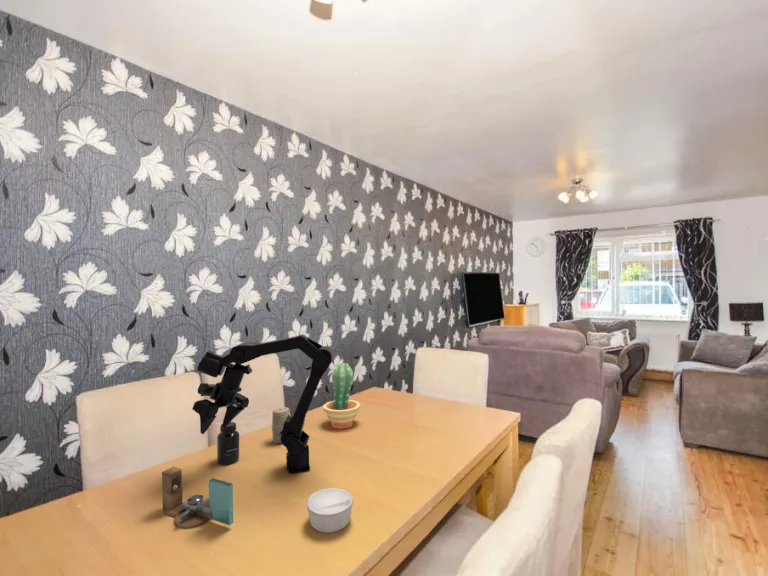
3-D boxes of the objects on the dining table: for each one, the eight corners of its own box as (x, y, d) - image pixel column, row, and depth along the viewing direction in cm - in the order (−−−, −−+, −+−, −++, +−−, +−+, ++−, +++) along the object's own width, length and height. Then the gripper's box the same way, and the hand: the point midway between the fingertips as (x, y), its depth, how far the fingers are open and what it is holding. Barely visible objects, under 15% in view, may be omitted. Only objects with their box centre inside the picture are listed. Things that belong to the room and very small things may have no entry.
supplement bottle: (231, 466, 122) (231, 428, 122) (212, 464, 124) (212, 427, 124) (243, 456, 129) (243, 421, 129) (225, 455, 130) (224, 420, 130)
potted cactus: (368, 422, 160) (367, 362, 160) (345, 434, 147) (344, 369, 147) (339, 415, 168) (338, 358, 168) (315, 427, 155) (314, 365, 155)
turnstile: (198, 498, 102) (197, 463, 102) (245, 513, 95) (244, 476, 95) (166, 517, 94) (166, 479, 93) (216, 535, 87) (215, 494, 87)
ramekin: (333, 542, 86) (333, 519, 86) (296, 526, 92) (296, 504, 91) (362, 516, 95) (362, 495, 95) (327, 503, 101) (327, 483, 101)
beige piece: (268, 444, 139) (268, 411, 138) (279, 436, 146) (278, 405, 146) (284, 446, 137) (284, 412, 137) (294, 437, 144) (293, 406, 144)
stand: (183, 498, 104) (183, 461, 104) (223, 511, 98) (222, 472, 98) (151, 517, 96) (150, 477, 96) (192, 532, 90) (191, 489, 90)
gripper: (231, 370, 130) (215, 413, 130) (188, 374, 113) (169, 425, 113) (257, 383, 127) (240, 427, 127) (216, 390, 109) (197, 442, 109)
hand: (213, 430), depth 119 cm, fingers open, 9 cm apart
